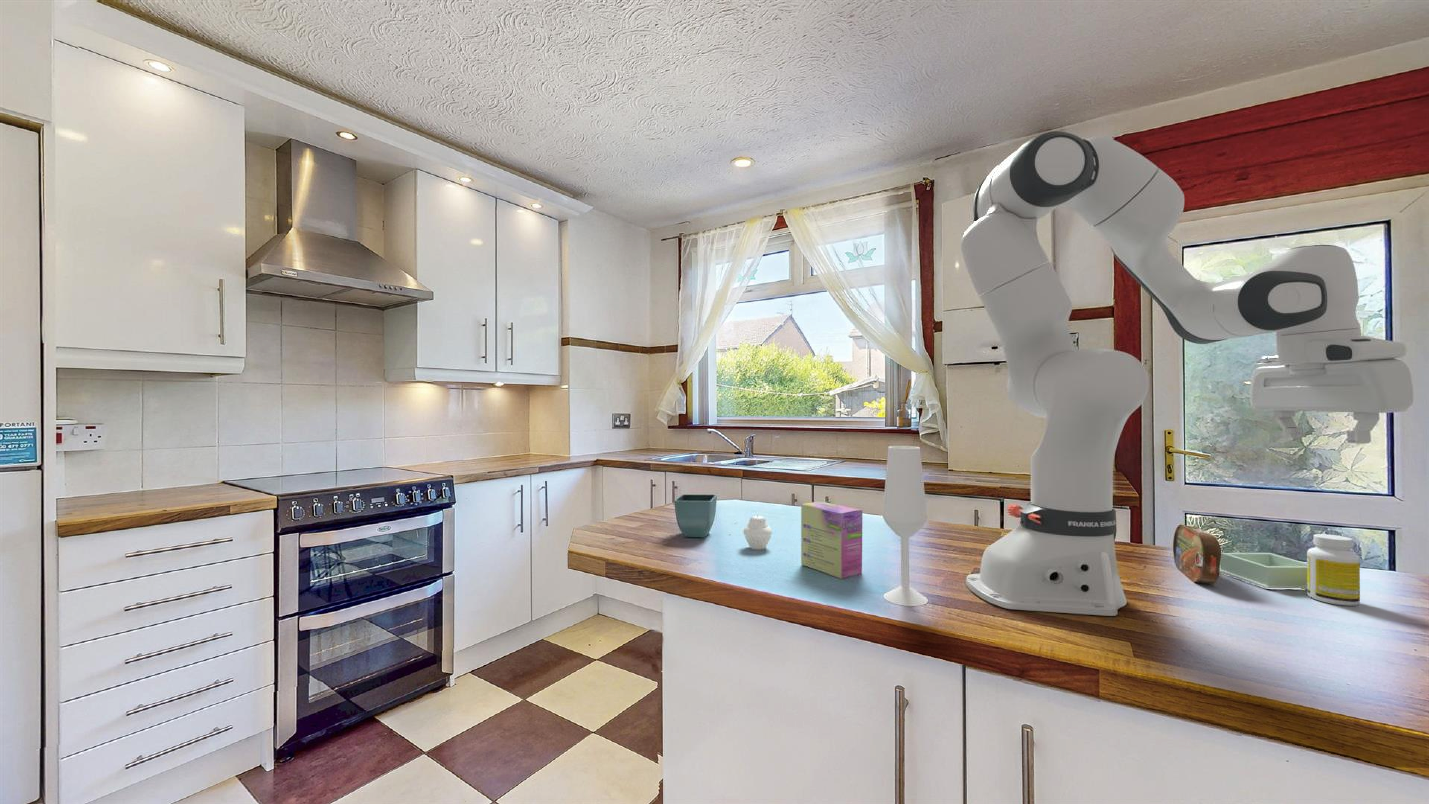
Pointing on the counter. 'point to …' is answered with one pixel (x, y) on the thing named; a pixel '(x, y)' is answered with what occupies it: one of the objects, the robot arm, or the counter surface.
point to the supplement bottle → (1333, 571)
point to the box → (831, 538)
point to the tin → (1197, 554)
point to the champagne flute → (904, 512)
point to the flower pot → (695, 514)
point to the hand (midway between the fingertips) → (1324, 440)
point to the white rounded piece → (757, 533)
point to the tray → (1265, 569)
